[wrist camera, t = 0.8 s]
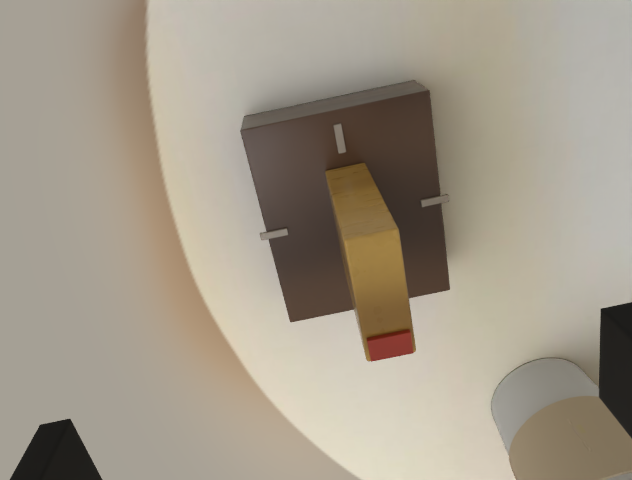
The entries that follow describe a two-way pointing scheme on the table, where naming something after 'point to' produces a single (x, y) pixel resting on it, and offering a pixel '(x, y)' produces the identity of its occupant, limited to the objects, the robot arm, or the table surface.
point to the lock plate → (313, 195)
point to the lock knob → (372, 262)
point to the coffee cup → (559, 425)
